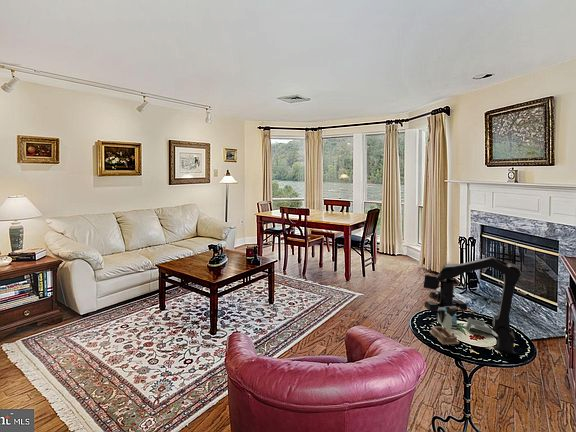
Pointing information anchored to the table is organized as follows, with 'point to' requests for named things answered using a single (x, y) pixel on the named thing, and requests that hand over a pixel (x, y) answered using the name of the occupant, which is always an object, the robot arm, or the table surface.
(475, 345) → the table surface
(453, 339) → the brown rectangular tray
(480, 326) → the metal bracket
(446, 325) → the pale rectangular block
